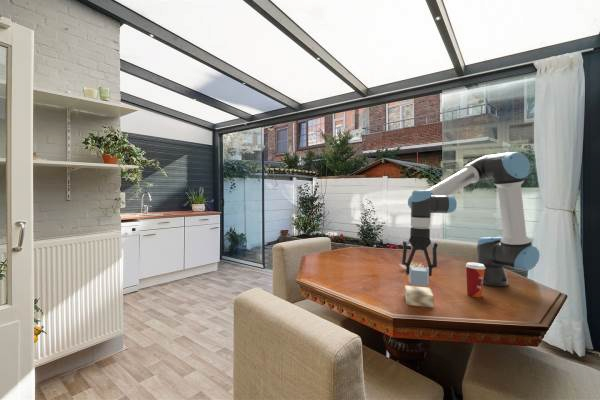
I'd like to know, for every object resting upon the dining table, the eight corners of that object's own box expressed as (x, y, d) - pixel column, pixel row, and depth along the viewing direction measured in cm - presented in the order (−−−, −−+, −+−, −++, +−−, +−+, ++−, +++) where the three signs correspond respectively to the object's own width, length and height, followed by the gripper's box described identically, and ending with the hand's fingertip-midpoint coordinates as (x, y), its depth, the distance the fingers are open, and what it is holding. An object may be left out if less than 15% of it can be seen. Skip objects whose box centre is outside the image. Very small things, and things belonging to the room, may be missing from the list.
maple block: (429, 299, 128) (429, 287, 128) (433, 308, 118) (433, 295, 118) (404, 296, 130) (404, 285, 130) (406, 305, 121) (406, 293, 120)
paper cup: (484, 299, 127) (485, 267, 127) (464, 295, 131) (465, 264, 131) (484, 294, 134) (485, 263, 133) (465, 290, 138) (466, 261, 137)
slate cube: (425, 282, 126) (425, 268, 126) (427, 286, 120) (427, 271, 120) (410, 280, 127) (410, 266, 127) (411, 284, 122) (411, 270, 122)
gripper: (443, 227, 124) (441, 282, 125) (395, 225, 129) (394, 277, 130) (447, 229, 117) (445, 287, 118) (396, 227, 122) (394, 282, 123)
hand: (418, 282), depth 124 cm, fingers closed on slate cube, 6 cm apart
